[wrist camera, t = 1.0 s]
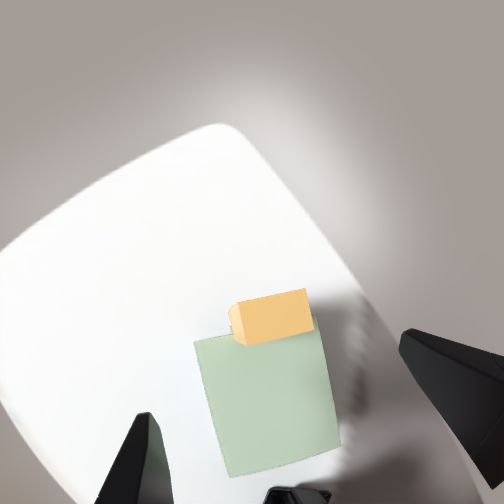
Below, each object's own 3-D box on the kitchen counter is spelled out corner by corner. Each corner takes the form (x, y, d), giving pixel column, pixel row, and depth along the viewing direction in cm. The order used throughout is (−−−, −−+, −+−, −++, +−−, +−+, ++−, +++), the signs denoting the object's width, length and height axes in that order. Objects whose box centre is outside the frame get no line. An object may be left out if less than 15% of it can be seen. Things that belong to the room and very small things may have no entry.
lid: (333, 439, 19) (385, 478, 12) (228, 469, 18) (239, 528, 10) (304, 294, 22) (352, 276, 14) (190, 318, 20) (179, 313, 13)
